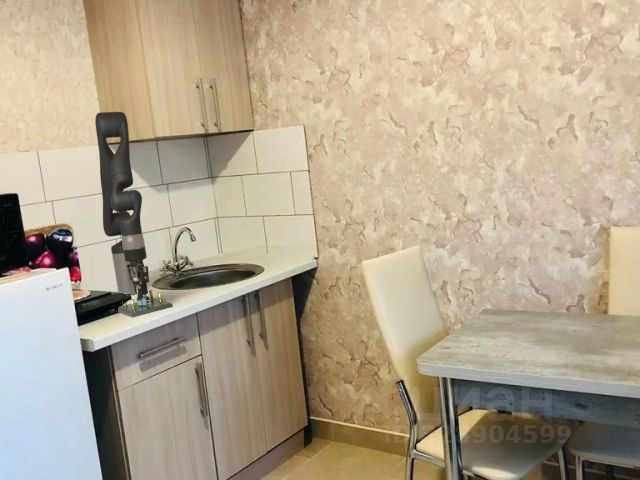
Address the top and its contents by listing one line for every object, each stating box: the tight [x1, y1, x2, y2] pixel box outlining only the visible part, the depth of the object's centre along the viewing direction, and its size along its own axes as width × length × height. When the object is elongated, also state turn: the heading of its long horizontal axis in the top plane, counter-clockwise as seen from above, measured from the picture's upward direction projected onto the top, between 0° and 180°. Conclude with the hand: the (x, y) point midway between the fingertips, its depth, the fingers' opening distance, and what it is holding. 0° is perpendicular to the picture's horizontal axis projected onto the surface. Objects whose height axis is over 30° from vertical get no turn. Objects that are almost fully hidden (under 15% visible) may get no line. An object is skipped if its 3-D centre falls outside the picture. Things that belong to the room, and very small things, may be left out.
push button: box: [132, 277, 151, 305], centre depth 232 cm, size 7×5×10 cm
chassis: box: [117, 289, 173, 318], centre depth 233 cm, size 16×15×5 cm
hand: (141, 293), depth 233 cm, fingers closed on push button, 5 cm apart
